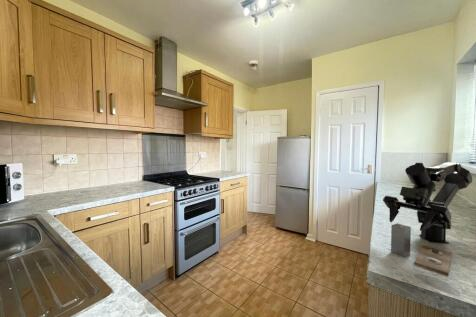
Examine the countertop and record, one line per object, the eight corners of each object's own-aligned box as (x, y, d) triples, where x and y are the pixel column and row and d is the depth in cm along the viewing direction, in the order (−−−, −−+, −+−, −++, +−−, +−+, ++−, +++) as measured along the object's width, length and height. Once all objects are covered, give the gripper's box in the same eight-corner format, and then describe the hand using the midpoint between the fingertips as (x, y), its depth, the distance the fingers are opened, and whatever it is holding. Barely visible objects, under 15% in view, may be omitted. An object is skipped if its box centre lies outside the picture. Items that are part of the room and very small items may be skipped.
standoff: (397, 249, 73) (397, 223, 73) (410, 254, 69) (410, 227, 69) (390, 252, 71) (391, 225, 71) (403, 257, 68) (404, 229, 67)
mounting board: (422, 246, 75) (422, 240, 75) (451, 254, 69) (452, 247, 69) (414, 264, 64) (414, 257, 64) (448, 275, 58) (448, 267, 58)
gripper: (385, 176, 81) (368, 205, 77) (448, 182, 64) (431, 221, 60) (396, 193, 85) (380, 222, 80) (458, 203, 68) (442, 241, 63)
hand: (404, 225), depth 71 cm, fingers open, 9 cm apart
